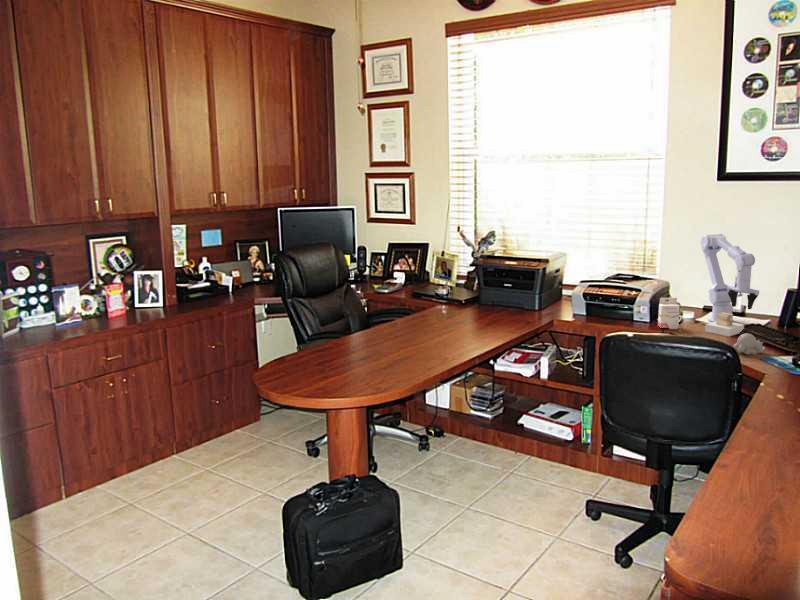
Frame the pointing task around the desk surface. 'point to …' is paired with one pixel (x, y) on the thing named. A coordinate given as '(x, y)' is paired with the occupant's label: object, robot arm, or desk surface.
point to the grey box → (724, 329)
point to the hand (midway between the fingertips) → (741, 307)
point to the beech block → (724, 319)
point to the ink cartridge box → (668, 313)
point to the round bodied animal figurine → (748, 344)
